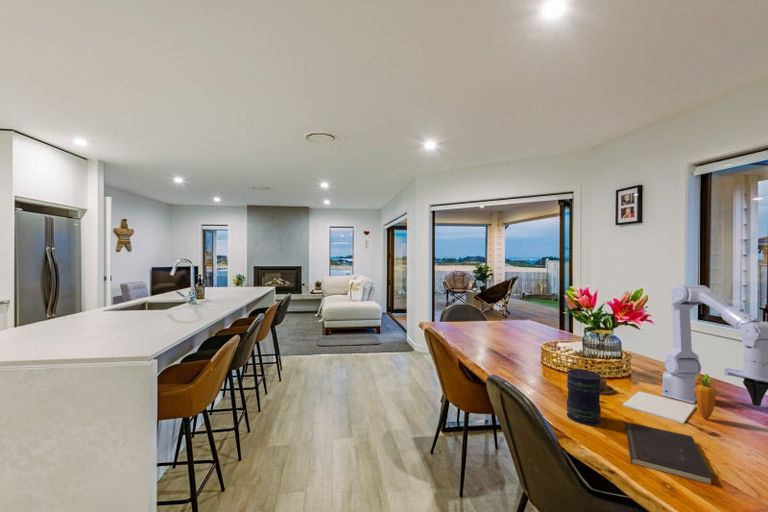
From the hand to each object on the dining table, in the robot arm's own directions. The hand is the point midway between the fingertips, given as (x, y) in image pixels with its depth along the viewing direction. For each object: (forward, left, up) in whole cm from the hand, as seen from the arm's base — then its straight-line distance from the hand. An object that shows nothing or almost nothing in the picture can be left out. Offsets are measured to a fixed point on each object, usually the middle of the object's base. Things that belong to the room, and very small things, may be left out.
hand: (756, 404), depth 107 cm
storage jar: (-38, -32, -9) cm, 50 cm away
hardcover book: (-15, -36, -10) cm, 40 cm away
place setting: (-46, -4, -10) cm, 47 cm away
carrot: (-12, 0, -9) cm, 15 cm away
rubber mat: (-24, 0, -9) cm, 26 cm away
